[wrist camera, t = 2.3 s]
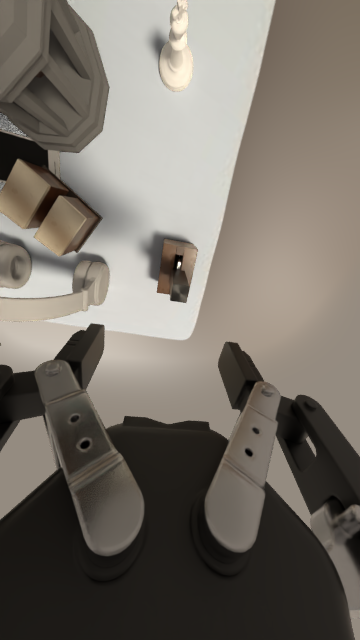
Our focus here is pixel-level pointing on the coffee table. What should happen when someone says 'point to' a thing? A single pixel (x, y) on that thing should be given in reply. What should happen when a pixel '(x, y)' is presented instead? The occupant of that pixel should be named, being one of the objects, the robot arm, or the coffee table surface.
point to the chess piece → (177, 51)
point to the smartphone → (24, 154)
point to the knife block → (167, 262)
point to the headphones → (88, 289)
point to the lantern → (51, 74)
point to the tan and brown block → (47, 208)
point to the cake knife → (178, 282)
